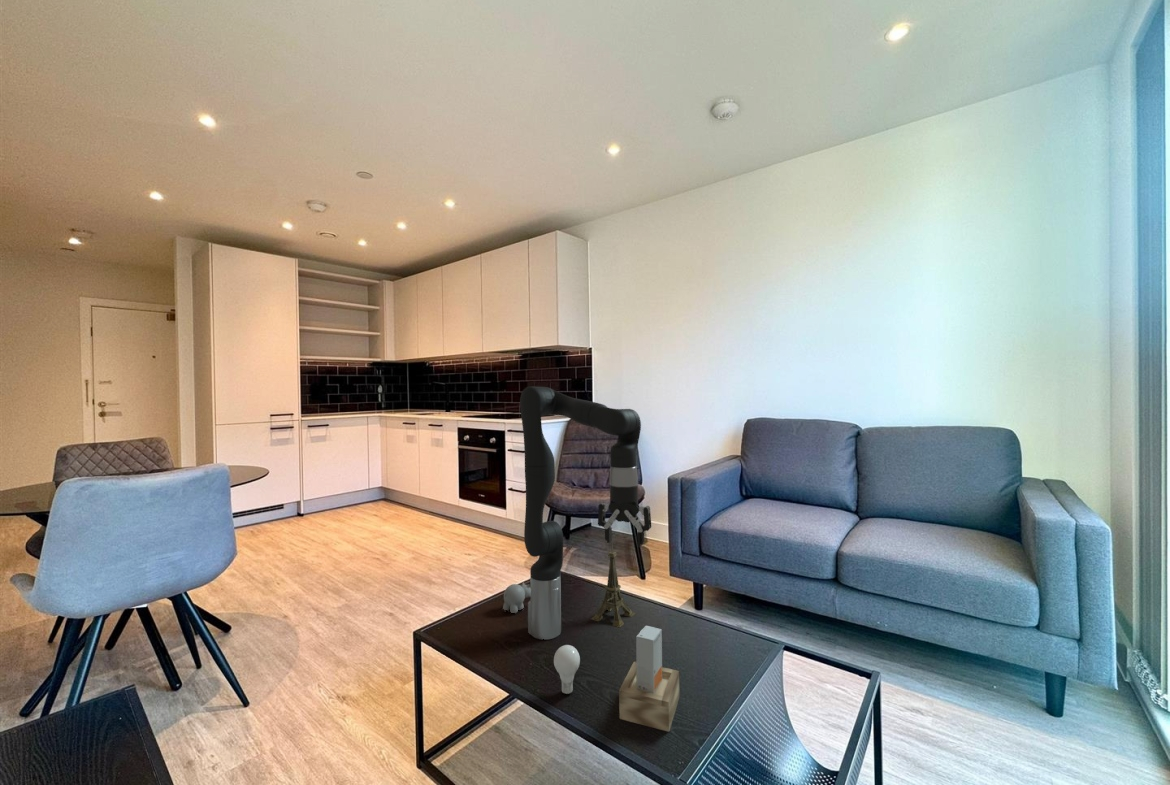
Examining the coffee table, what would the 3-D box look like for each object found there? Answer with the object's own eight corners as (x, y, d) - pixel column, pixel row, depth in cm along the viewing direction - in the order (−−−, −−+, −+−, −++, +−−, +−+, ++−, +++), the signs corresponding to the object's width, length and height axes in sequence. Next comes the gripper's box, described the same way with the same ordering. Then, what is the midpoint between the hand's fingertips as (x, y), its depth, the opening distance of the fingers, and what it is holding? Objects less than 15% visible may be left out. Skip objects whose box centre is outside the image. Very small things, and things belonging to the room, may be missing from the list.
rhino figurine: (539, 604, 157) (539, 579, 157) (513, 617, 148) (513, 591, 148) (525, 599, 162) (525, 575, 162) (499, 611, 152) (498, 585, 153)
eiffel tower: (591, 619, 146) (590, 541, 146) (607, 606, 155) (606, 533, 155) (620, 627, 140) (619, 546, 141) (634, 614, 149) (633, 538, 150)
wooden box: (619, 718, 100) (619, 690, 100) (634, 686, 111) (634, 661, 111) (669, 731, 95) (668, 702, 96) (679, 697, 106) (678, 670, 107)
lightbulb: (553, 685, 112) (553, 640, 112) (579, 683, 112) (578, 639, 112) (554, 702, 105) (553, 654, 106) (581, 700, 106) (580, 653, 106)
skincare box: (653, 695, 100) (653, 640, 100) (636, 690, 102) (635, 636, 102) (663, 680, 105) (662, 628, 105) (645, 675, 107) (645, 624, 107)
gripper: (593, 484, 120) (594, 545, 120) (646, 487, 115) (647, 551, 114) (603, 479, 127) (604, 537, 127) (653, 482, 122) (654, 542, 121)
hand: (624, 543), depth 121 cm, fingers open, 8 cm apart
